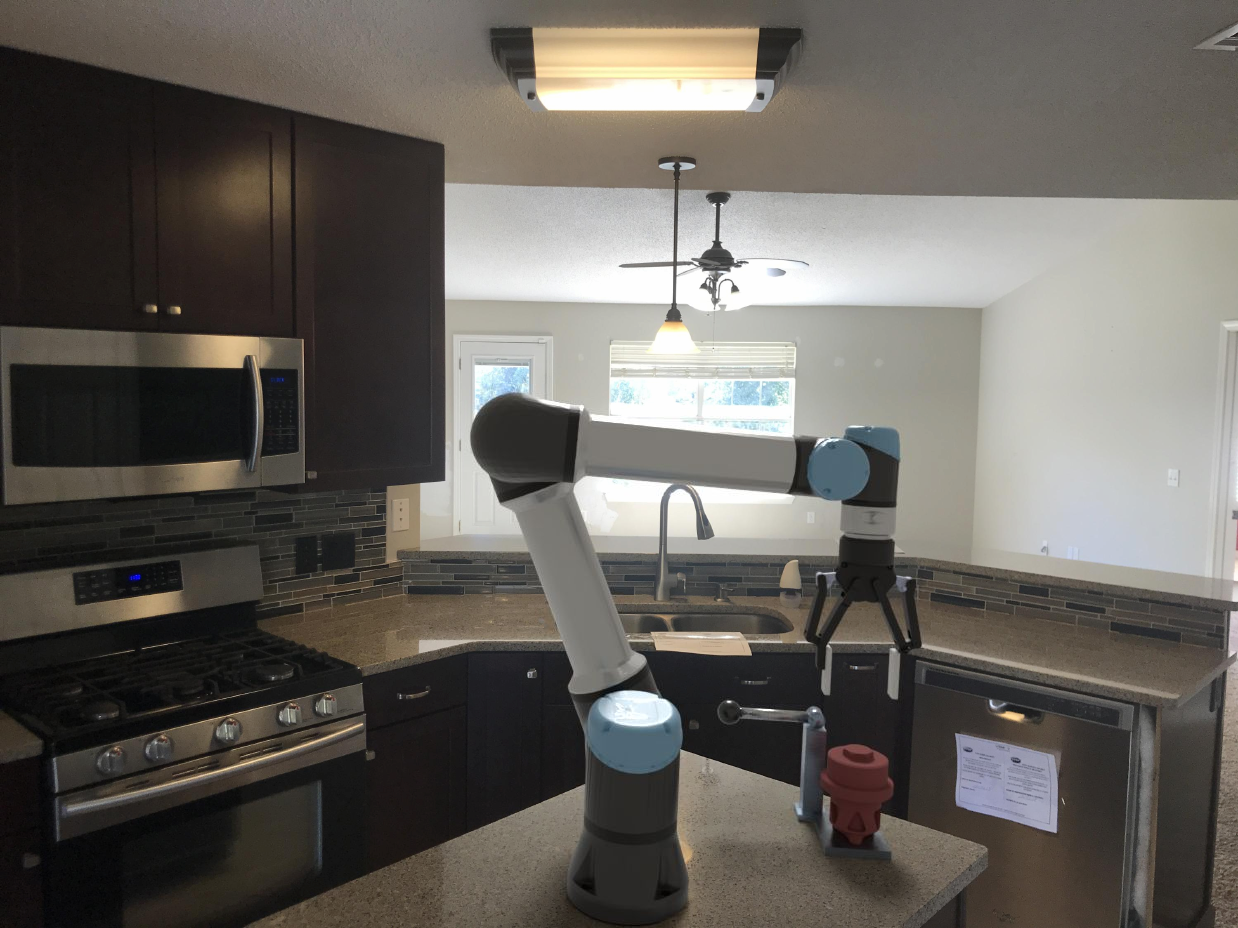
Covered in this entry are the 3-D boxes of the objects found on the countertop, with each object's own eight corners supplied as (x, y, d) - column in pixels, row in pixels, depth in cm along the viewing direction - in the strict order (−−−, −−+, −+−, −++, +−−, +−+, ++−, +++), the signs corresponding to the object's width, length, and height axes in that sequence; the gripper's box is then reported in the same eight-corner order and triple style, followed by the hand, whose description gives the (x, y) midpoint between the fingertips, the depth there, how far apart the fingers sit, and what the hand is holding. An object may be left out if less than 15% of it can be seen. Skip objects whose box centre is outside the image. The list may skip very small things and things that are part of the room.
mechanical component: (886, 822, 124) (894, 855, 114) (816, 814, 126) (819, 845, 116) (890, 740, 124) (899, 766, 114) (820, 732, 125) (823, 757, 116)
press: (808, 853, 116) (813, 757, 116) (793, 807, 131) (798, 721, 130) (891, 860, 115) (896, 763, 115) (867, 812, 130) (871, 726, 130)
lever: (717, 726, 127) (718, 703, 127) (716, 718, 131) (717, 696, 131) (824, 733, 126) (826, 710, 126) (820, 725, 130) (821, 702, 130)
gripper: (794, 534, 116) (786, 697, 116) (953, 542, 114) (944, 707, 115) (787, 528, 123) (779, 681, 124) (936, 536, 122) (928, 690, 122)
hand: (858, 693), depth 119 cm, fingers open, 9 cm apart
